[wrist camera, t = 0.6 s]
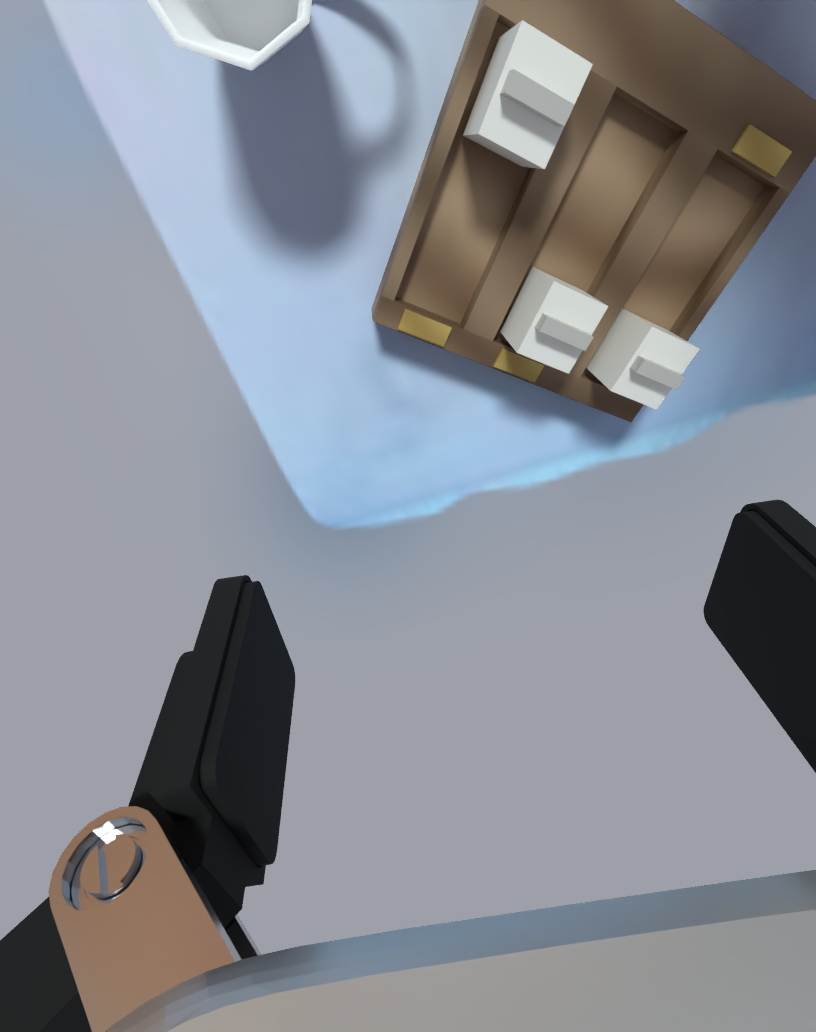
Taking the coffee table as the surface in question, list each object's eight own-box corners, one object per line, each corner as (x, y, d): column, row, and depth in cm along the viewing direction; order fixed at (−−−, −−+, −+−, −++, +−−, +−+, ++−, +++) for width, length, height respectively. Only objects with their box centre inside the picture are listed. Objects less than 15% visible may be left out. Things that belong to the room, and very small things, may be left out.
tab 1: (499, 37, 24) (527, 16, 20) (562, 74, 25) (600, 61, 21) (462, 135, 26) (481, 133, 22) (521, 166, 27) (550, 170, 23)
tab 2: (621, 308, 32) (659, 330, 28) (665, 328, 33) (707, 353, 29) (586, 367, 34) (616, 396, 30) (628, 385, 35) (662, 415, 31)
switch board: (507, -82, 23) (525, -108, 21) (804, 120, 29) (844, 118, 26) (371, 309, 32) (373, 322, 30) (615, 406, 38) (632, 423, 35)
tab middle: (532, 266, 30) (559, 284, 26) (581, 289, 31) (614, 310, 27) (500, 331, 32) (520, 357, 28) (547, 351, 33) (573, 378, 29)
